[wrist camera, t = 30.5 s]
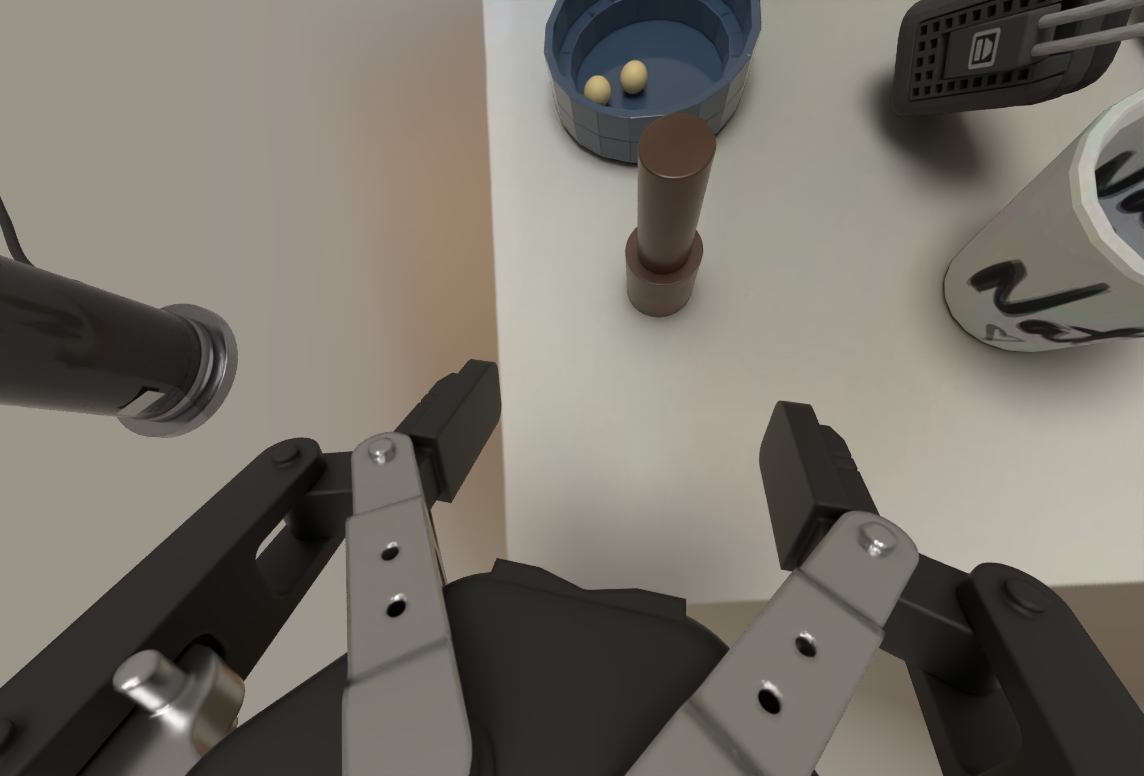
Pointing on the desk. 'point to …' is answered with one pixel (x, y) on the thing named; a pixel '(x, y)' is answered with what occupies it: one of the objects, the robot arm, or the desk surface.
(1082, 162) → the mug
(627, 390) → the desk surface
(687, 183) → the pestle
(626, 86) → the bean
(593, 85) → the bean
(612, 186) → the desk surface
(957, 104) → the headphones
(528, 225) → the desk surface
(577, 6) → the bowl
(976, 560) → the desk surface
